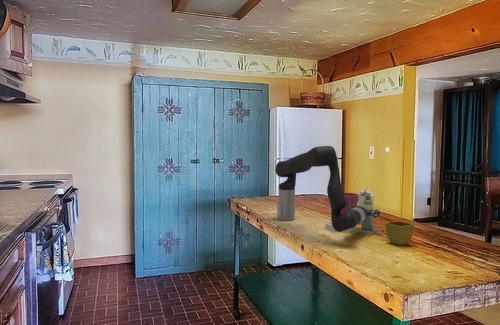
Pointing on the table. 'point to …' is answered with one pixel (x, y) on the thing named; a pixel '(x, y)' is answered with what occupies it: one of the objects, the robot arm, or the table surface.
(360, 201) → the milk carton
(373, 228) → the mat
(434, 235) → the table surface
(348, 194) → the plant pot
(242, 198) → the table surface
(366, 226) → the olive bottle
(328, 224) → the bowl
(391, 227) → the flower pot
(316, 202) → the table surface
